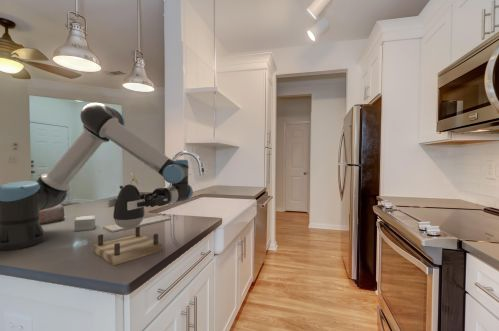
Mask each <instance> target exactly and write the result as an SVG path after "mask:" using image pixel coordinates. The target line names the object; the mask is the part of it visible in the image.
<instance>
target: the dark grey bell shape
mask: <svg viewBox="0 0 499 331" xmlns="http://www.w3.org/2000/svg"><path fill="white" fill-rule="evenodd" d="M119 189H120V190H119V192H118V194H117V197H116V198H117V199H116V203H115V206H114V208H113V215H112V216H113V217H112V218H113V219H114V223H115V224H117V225H118V226H120V227H122V228H130V229H133V228H132V227H135V226H137V225H139V224H140V223H141V222H142V220H143V219H144V216H145V214H146V213H145V206H144V207H142V208H137V209H133V210H127V202H131V201H136V200H142V198H141V195H140V194H141V193H140V190H139V189H138V187H137V186H136V185H134V184H132V183H131V184H130V183H129V184H125V185H120V186H119ZM135 228H136V227H135Z"/></svg>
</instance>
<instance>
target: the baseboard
mask: <svg viewBox="0 0 499 331" xmlns="http://www.w3.org/2000/svg"><path fill="white" fill-rule="evenodd" d="M170 220H172V216H170V215H169V216H167V213H163V214H162V215H161V213H159V214H158V215H156V216H151V217H145V218H143V220H142V222H141V223H140V224H139V225H137V226H135V227H132V228H122V227H120V226H118V225H117V224H116V223H114V224H110V225H105V226H103V227H101V228H102V229H103V230H106V231H108V232H110V233H116V231H117V232H120V231H121V232H122V231H126V230H130V229H135V228H136V227H144V226H148V224H149V225H153V224H156V223H157V224H158V223H161V222H166V221H170ZM143 225H144V226H143ZM125 229H126V230H125Z"/></svg>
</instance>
